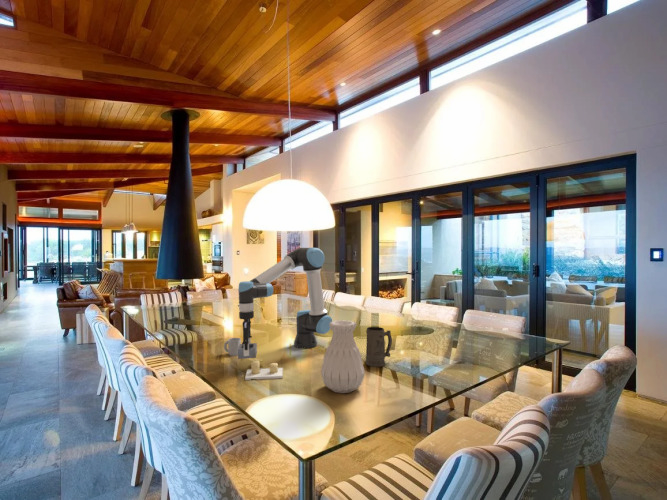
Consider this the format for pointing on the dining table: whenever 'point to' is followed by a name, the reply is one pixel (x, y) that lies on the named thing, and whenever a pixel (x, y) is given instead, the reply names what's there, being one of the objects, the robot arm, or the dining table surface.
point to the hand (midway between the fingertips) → (247, 352)
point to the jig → (263, 371)
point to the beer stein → (377, 346)
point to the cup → (232, 346)
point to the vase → (342, 359)
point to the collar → (251, 351)
